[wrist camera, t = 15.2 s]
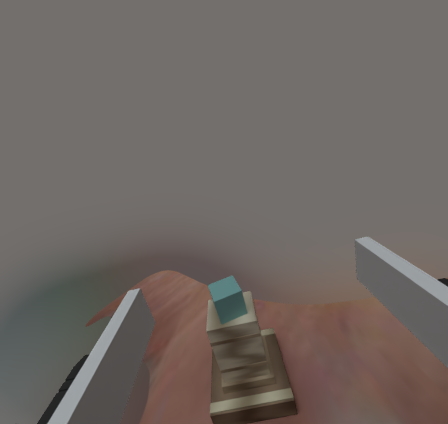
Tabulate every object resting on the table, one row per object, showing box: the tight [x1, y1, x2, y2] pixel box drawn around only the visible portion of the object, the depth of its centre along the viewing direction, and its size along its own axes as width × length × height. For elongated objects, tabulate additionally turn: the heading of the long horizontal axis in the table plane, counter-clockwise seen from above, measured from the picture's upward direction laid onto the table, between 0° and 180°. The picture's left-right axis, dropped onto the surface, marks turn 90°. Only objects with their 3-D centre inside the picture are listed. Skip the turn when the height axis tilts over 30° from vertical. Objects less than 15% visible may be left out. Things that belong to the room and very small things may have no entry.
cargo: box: [208, 276, 248, 325], centre depth 31 cm, size 4×4×4 cm
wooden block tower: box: [206, 291, 276, 394], centre depth 33 cm, size 8×7×12 cm
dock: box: [210, 328, 297, 424], centre depth 36 cm, size 12×12×3 cm
